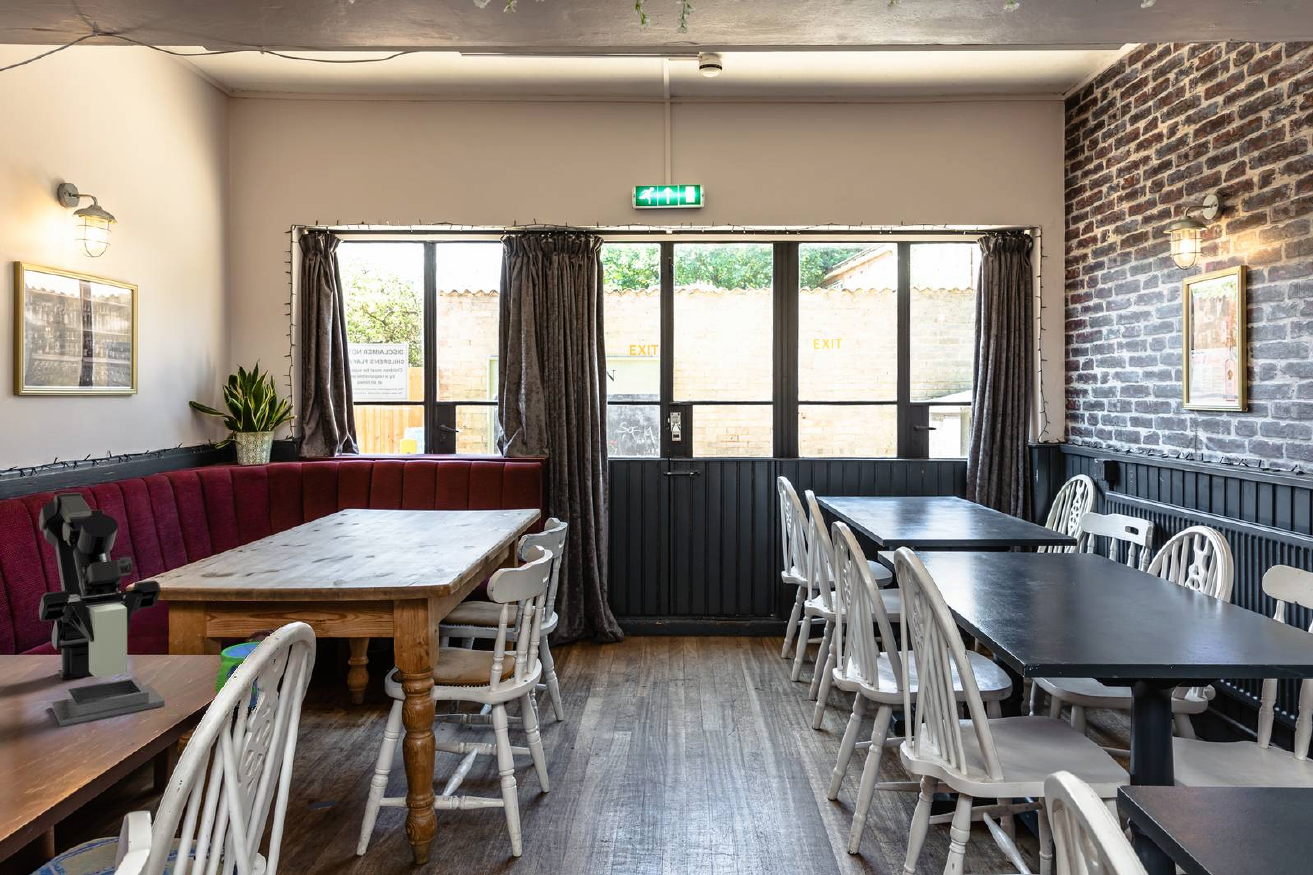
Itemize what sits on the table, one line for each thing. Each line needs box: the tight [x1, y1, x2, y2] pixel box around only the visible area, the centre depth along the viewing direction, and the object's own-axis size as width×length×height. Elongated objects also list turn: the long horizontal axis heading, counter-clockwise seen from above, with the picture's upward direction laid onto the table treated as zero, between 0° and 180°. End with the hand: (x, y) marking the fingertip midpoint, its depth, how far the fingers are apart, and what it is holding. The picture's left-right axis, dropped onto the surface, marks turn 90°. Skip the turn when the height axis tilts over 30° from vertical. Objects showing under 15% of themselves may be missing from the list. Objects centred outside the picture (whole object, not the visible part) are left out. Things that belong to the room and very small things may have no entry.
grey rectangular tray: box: [50, 677, 166, 727], centre depth 158 cm, size 12×16×3 cm
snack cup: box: [215, 642, 261, 708], centre depth 161 cm, size 16×10×10 cm
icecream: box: [244, 627, 276, 643], centre depth 187 cm, size 7×7×15 cm
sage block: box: [89, 603, 128, 679], centre depth 157 cm, size 5×5×12 cm
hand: (109, 638), depth 156 cm, fingers closed on sage block, 5 cm apart
